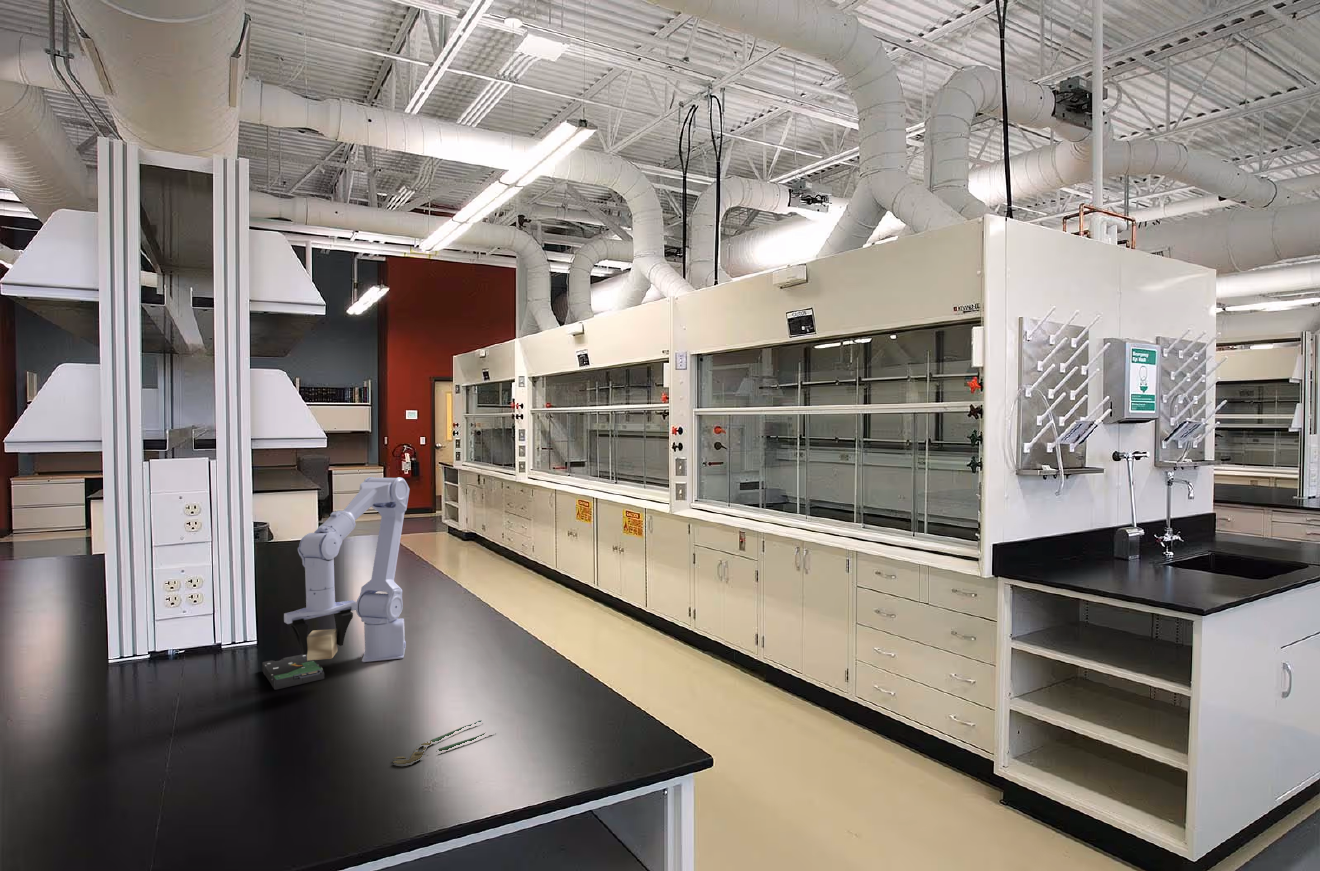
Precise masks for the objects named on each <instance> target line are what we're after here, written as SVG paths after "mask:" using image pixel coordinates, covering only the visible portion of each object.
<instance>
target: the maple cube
mask: <svg viewBox="0 0 1320 871" xmlns="http://www.w3.org/2000/svg"><path fill="white" fill-rule="evenodd" d="M307 647H308V652H307V660H316V661H318V660H330V659H331V660H332V659H333V658H334V656H335V655H336V654H337V653H338V645H337V629H336V628H331V629H330V628H329V629H328V628H327V629H317V630H312V631H311V632H310V633H309V634H307Z"/></svg>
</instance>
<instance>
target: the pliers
mask: <svg viewBox="0 0 1320 871" xmlns="http://www.w3.org/2000/svg"><path fill="white" fill-rule="evenodd" d="M481 721H482V720H478V721H476V722H473V723H474V724H476V723H477V722H481ZM473 723H472V724H473ZM472 724H468V725H464V726H462V727H459V728H457V729H455V730H452V731H450V732H447V733H445V734H443V735H440V736H437V737H435V738H431V739H430V740H429V741H430V743H428V741H426V742H427V743H425V742H423V743H420V744H421V745H430V744H431V741H432V742H435V741H439V740H441V739H442V738H444V737H445V736H449V735H451V734H453V733H454V732H455V731H459V730H461V729H462V728H464V727H466V726H471V725H472ZM485 733H486V732H483V733H481V734H479V735H477V736H476V735H475V737H474V736H473V737H472V738H471V737H470V738H468V739H465V740H461V741H458V742H455V743H452V744H448V745H445V746H444V747H439V748H438V749H437V750H439V751H442V750H448V749H449V748H452V747H454V746H456V745H460V744H462V743H465V742H467V741H472V740H474V739H476V738H477V737H479V736H482V735H484V734H485ZM418 749H419V748H418ZM418 749H416V750H418ZM425 749H426V747H425V748H424V747H422V750H425ZM413 752H414V751H413ZM413 752H412V754H411V757H409V758H410V759H409V760H396V761H393V759H407V758H406V757H405V756H396V757H393V758H392V764H393V763H397V764H406V763H411V762H413V761H416V760H418V759H420V758H421V757H422V755H423V753H424V751H423V752H421V751H418V752H414V753H413Z"/></svg>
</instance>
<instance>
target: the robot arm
mask: <svg viewBox="0 0 1320 871" xmlns="http://www.w3.org/2000/svg"><path fill="white" fill-rule="evenodd" d="M410 490H411V489H410V487H409V485H408V483H407V481H406V480H405V478H403V477H374V476H368V477H366V478H365V479H364V481H362V482H361V483H360V484H359V491H358V493H357V494H356V495H355V496H354V497H353V498H352V500H350V501H349V503H348V504H347V506H346V507H345V508H344V509H343V510H336V511H332V512H331V513H330V514H329V515H330V516H329V517H328V518H327V519H326V520H325V521H323V523H322V524H321V525H319V526H318V527H317V529H315V531H314V532H308V533H306V534H305V535H304V536H303V537H302V538H301V539H300V541H299V545H298V547H297V552H298V555H299V557H300V559H301V562H302V563H301V564H302V566H303V568H304V571H305V573H304V574H305V577H304V578H305V603H306V604H305V605H306V607H303V608H300V609H296V610H294V611H290V612H285V613H283V622H284V623H285V624H287V625H289V627H290V628H291V630H292V631H293V634H294V636H295V638H296V640H297V643H298V645H299V649H300V654H307V652H308V647H307V636H308V629H309V624H307V623H306V620H310V619H315V618H319V617H324V616H329V615H333V617H334V624H335V629H337V646H339V647H342V646H344V641H345V636H346V633H347V630H348V627H349V625H350V624H351V621H352V619H353V616H354V613H353V611H355V612H356V614H357V617H359V618H360V619H361V620H360V621H361V622H363V627H364V628H363V629H364V630H363V633H364V636H363V637H364V652H363V656H362V657H361V658H362V659H361V663H370V662H377V661H378V662H379V661H381V662H382V661H388V660H397V659H404V656H405V653H406V652H405V651H406V647H407V642H406V640H405V639H406V636H405V634H406V633H405V629H406V628H405V618H403V617H402V618H399V617H400V615H401V613H402V611H403V607H404V604H403V603H404V602H403V589H402V587H400V585H398V584H397V583H396V581H395V576H396V570H397V564H398V558H399V557H398V556H399V552H400V544H401V539H402V532H403V524H404V519H405V513H406V511H407V508H408V502H409V495H410ZM370 508H372V509H373V510H374V511H376V512H378V513H379V515H380V517H381V518H380V523H379V529H378V530H379V531H378V536H377V542H376V549H375V556H374V560H373V561H374V562H373V567H372V573H371V577H370V578H371V579H370V580H369V581H367V582H366V583H365V584H364V585H362V586H361V588H360V593H359V596H358V598H357V600H353V599H352V600H345V601H337V602H336V591H335V590H336V589H335V588H336V587H335V586H336V585H335V565H334V564H335V560H334V558H337V556H338V554H339V552H340V549H341V546H342V544H343V541H344V540H345V539H346V538H347V537H348V536H349V535H350V534H351V533H352V531H353V530H355V528H356V520H358V518H360V517H361V516H362V515H363V514H365V512H366V511H368V510H369V509H370ZM380 592H382V593H380ZM383 592H386V593H383Z"/></svg>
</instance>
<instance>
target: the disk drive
mask: <svg viewBox="0 0 1320 871" xmlns="http://www.w3.org/2000/svg"><path fill="white" fill-rule="evenodd" d="M261 670H262V672H263V673H262V674H263V675H264V676H265V677H266V678H267V681H268V682H269V683H270V685H271V688H273V689H274V690H281V689H284V688H285V689H286V688H289V687H290V688H291V687H294V686H298V685H303V684H308V683H311V682H317V681H320V680H324V679H325V672H324V669H323V667H322V666H321V665H320V663H319V662H318V660H307V654H302V653H300V654H299V655H293V656H287V657H282V658H281V659H280V660H276V661H275V660H272V659H271V660H268V661H263V662H262V663H261Z"/></svg>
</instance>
